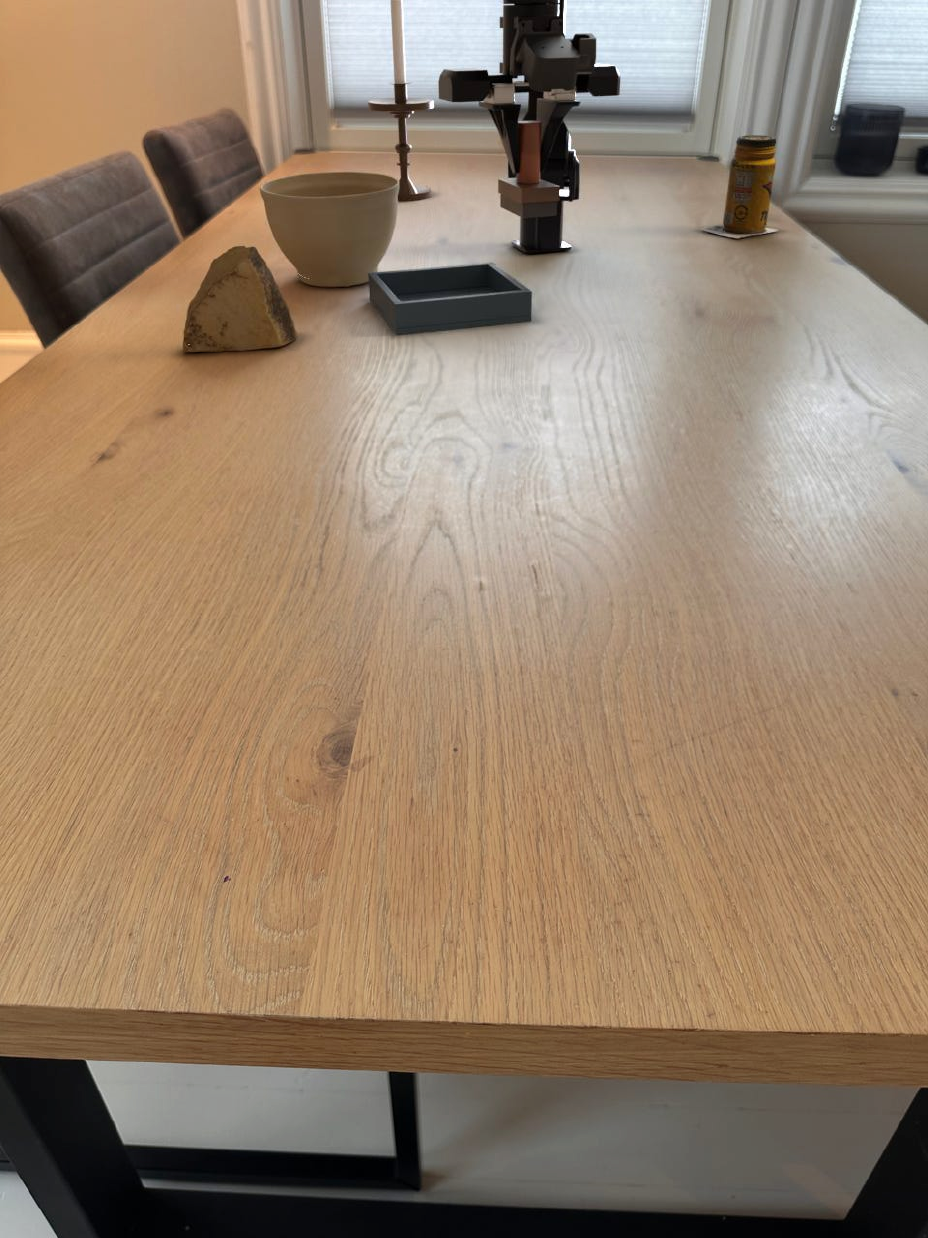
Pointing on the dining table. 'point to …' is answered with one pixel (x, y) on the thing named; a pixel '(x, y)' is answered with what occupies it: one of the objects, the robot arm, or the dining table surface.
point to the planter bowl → (332, 223)
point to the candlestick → (402, 106)
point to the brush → (529, 179)
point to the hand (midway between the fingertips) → (527, 172)
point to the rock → (238, 307)
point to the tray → (449, 298)
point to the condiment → (748, 188)
